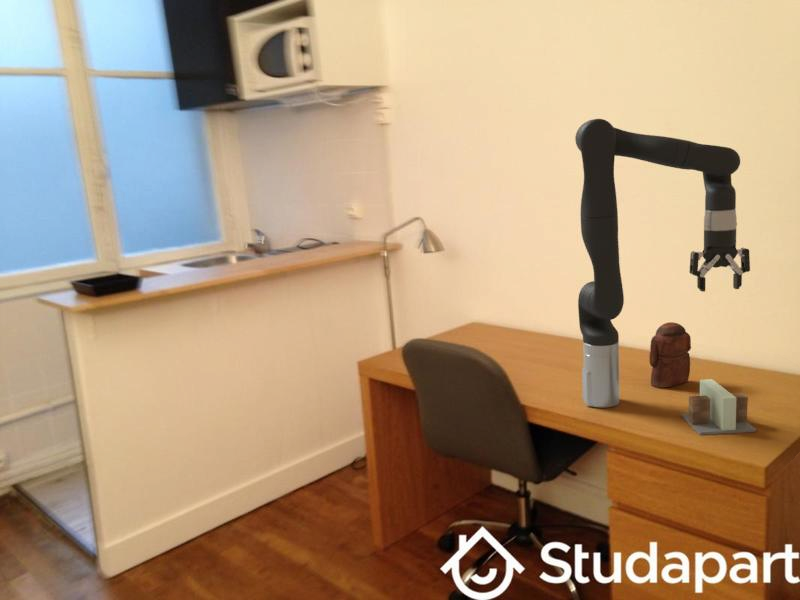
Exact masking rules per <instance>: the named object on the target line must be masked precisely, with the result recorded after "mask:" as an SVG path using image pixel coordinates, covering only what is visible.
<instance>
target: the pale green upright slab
mask: <svg viewBox="0 0 800 600" xmlns="http://www.w3.org/2000/svg"><path fill="white" fill-rule="evenodd" d="M732 394H733V393H731V392H729V391H728V389H726V388H724V387H723V386H722V385H720V384H719V383H718V382H717V381H715V380H714V379H712V378H709V379H708V378H707V379H699V396H708V397H709V398H710V419H711V420H712V421H713V422H714V423H715V424H716V425H717V426H718V427H719V428H720V429H722V430H723V431H724V430H736V397H735V396H733V395H732Z"/></svg>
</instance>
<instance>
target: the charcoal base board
mask: <svg viewBox="0 0 800 600" xmlns="http://www.w3.org/2000/svg"><path fill="white" fill-rule="evenodd" d="M681 417H682V418H683V419H684V420H685V421H686V422H687V423H688V425H690V426H691V427H692V428H693V430H694V431H695V432H696V433H697V434H698V435H700V436H701V435H702V436H703V435H704V436H705V435H723V434H739V433H756V432H757V429H756V428H755V427H754V426H752V425H751V423H749V422H748V421H747V422H736V430H724V431H723V430H722V429H720V428H719V427H718V426H717V425H716V424H715V423H714V422H713V421H712V420H711V419H710V424H697V425H692V424H691V423H690V422H689V413H682V414H681Z"/></svg>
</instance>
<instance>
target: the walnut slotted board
mask: <svg viewBox="0 0 800 600" xmlns="http://www.w3.org/2000/svg"><path fill="white" fill-rule="evenodd" d="M731 394H732V395H733V396H735V397H736V422H748V402H749V401H748V400H749V399H748V398H749V397H748V395H746V394H745V393H731ZM688 414H689V422H690V423H691V424H692V425H697V424H710V398H709V397H708V396H700V395H695V396H693V395H691V396H688Z"/></svg>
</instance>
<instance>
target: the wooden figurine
mask: <svg viewBox="0 0 800 600" xmlns="http://www.w3.org/2000/svg"><path fill="white" fill-rule="evenodd" d="M691 339H692V338H691V335H690V334H689V333H688V332H687V331H686V328H685V327H684V326H683V325H681V324H680V323H677V322H673V321H672V322H666V323H663V324H661V325H660V326H659V327H658V328H657V330H656V332H655V334H654V335H653V336H652V338H651V340H650V345H649V346H650V348H649V349H650V350H649V351H650V352H649V365H650V366H651V367H652V368H651V375H650V385H651V386H652V387H656V388H661V389H663V388H670V387H671V388H672V387H675V386H677V385H683V384H686V383H688V381H689V379H690V373H691V356H690V353H689V352H690V351H691V349H692V344H691V343H692V342H691V341H692V340H691Z"/></svg>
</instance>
